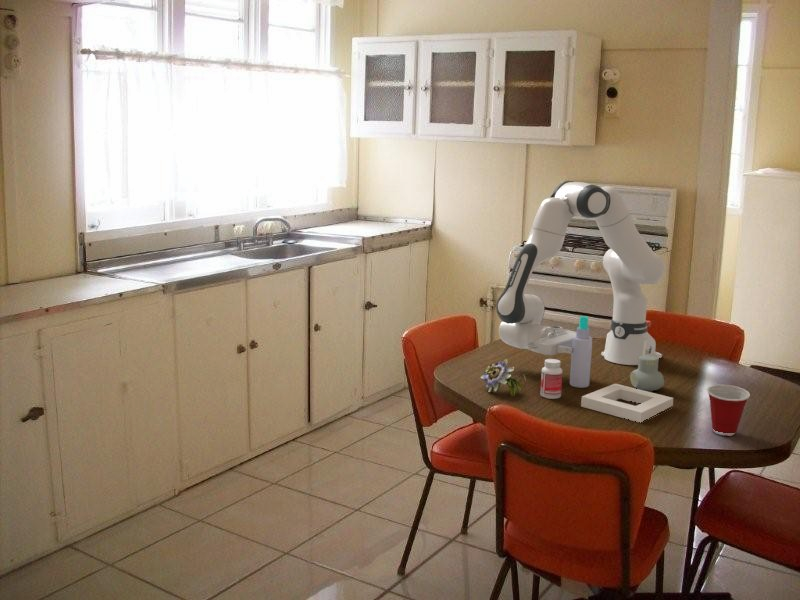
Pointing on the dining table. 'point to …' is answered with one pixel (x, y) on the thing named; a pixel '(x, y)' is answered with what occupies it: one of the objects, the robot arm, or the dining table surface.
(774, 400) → the dining table surface
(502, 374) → the passion flower
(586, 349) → the spray bottle
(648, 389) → the air freshener
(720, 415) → the plastic cup
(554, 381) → the pill bottle
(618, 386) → the hole block
